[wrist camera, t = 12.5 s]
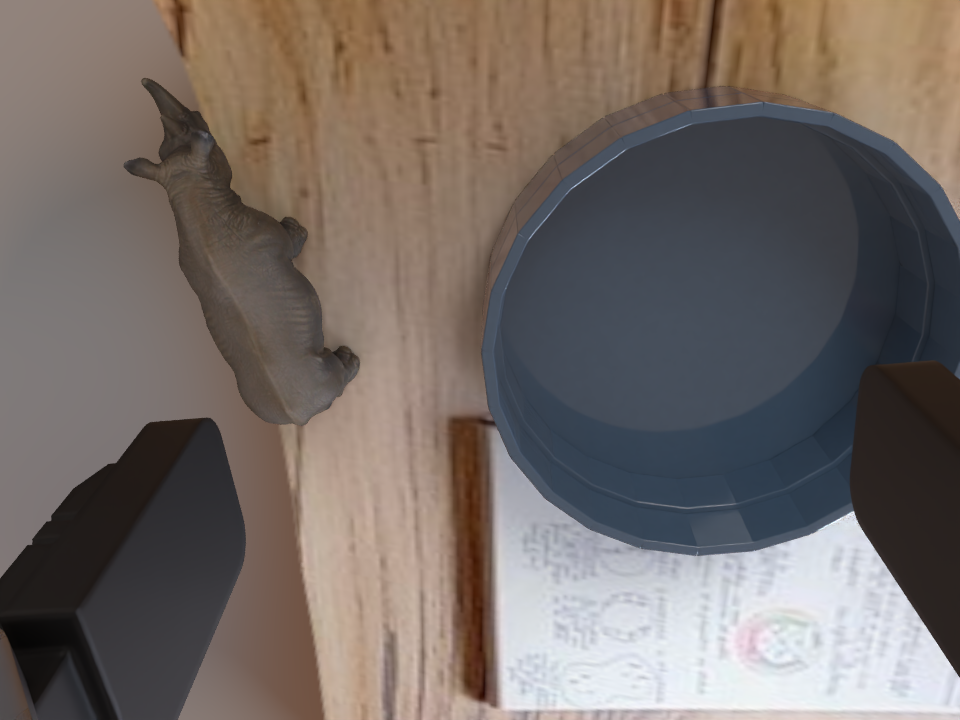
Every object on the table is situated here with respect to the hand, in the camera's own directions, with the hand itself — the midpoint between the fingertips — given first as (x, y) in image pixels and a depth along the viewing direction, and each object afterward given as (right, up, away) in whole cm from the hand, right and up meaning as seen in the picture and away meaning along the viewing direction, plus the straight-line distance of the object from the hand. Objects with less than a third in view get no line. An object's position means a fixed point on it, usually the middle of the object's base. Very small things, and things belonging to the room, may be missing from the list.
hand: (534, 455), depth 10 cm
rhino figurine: (-9, +6, +23) cm, 25 cm away
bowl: (+8, +3, +24) cm, 25 cm away
